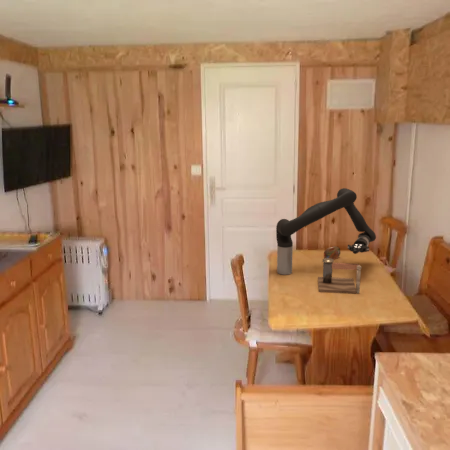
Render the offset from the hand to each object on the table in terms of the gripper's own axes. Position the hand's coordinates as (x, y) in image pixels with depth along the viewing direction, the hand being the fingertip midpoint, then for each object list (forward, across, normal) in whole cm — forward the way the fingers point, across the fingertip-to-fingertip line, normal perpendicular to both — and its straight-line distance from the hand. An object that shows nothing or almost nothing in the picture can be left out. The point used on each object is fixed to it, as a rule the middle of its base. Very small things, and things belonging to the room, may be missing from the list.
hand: (355, 252), depth 263 cm
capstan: (+8, -6, +16) cm, 19 cm away
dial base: (+10, -7, +18) cm, 22 cm away
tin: (-36, -23, +19) cm, 47 cm away
